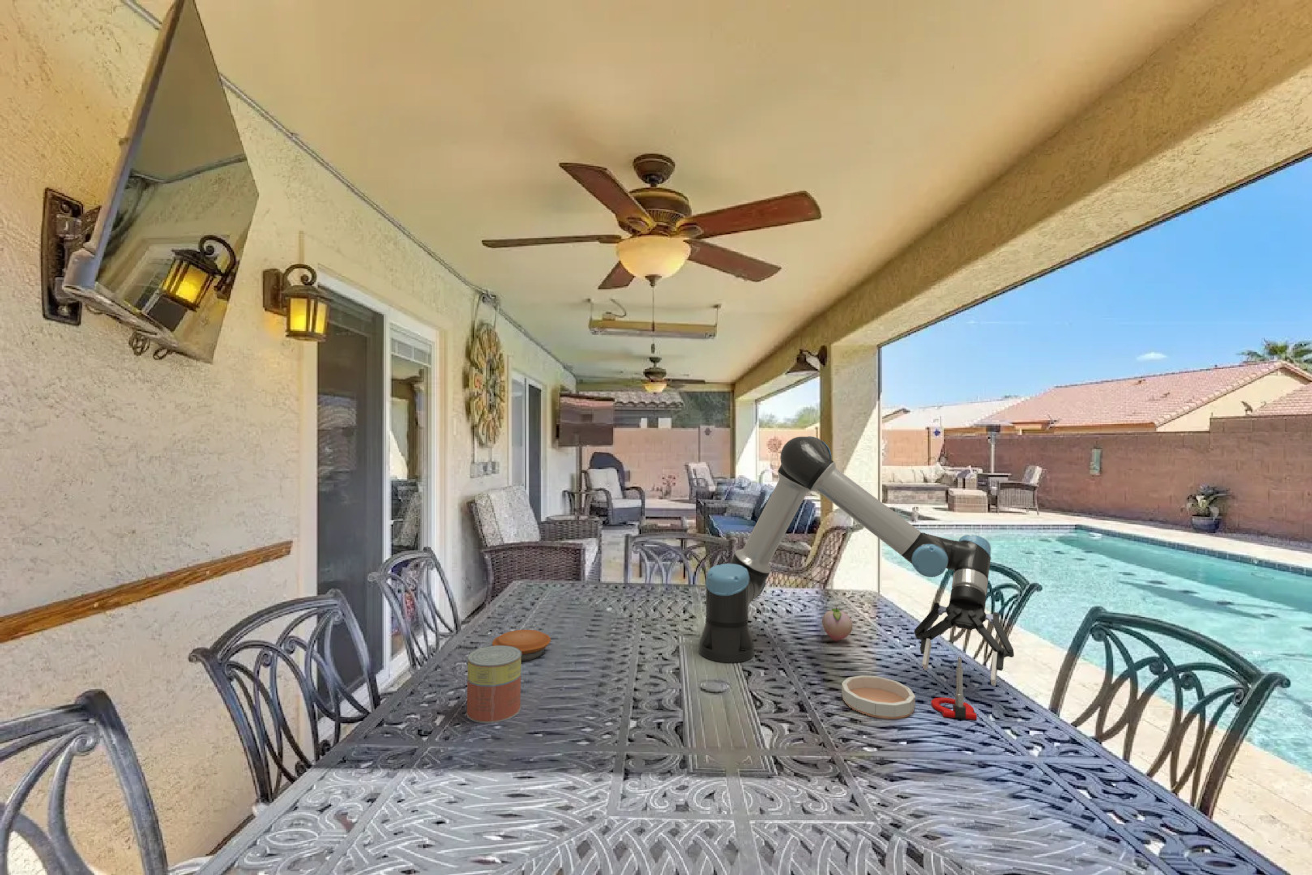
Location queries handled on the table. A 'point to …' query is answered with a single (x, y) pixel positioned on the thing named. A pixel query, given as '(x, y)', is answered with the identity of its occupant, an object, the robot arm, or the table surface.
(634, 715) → the table surface
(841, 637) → the decorative fruit
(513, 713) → the canned food
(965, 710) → the tow hook
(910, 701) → the round tray
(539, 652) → the pie
